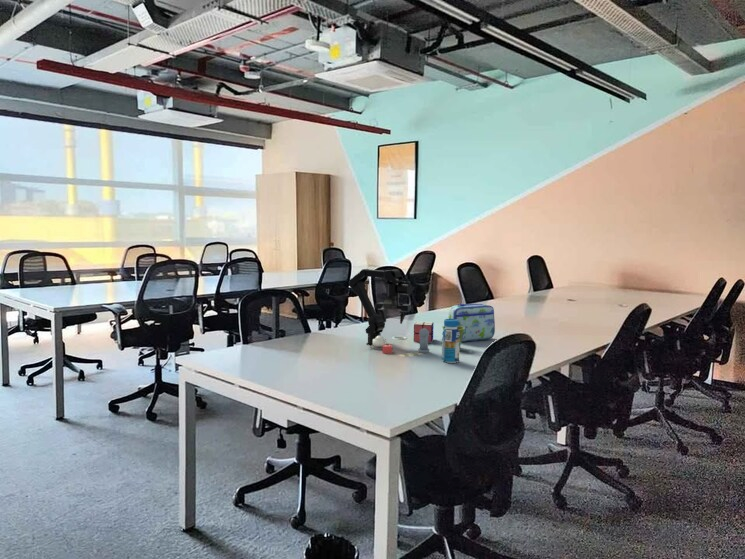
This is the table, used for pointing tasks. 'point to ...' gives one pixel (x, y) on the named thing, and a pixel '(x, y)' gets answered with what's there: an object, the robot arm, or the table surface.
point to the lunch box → (474, 321)
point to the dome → (379, 341)
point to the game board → (412, 354)
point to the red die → (387, 349)
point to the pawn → (423, 341)
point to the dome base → (376, 348)
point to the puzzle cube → (421, 325)
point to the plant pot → (461, 330)
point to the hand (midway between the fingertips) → (393, 322)
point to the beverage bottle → (450, 341)
